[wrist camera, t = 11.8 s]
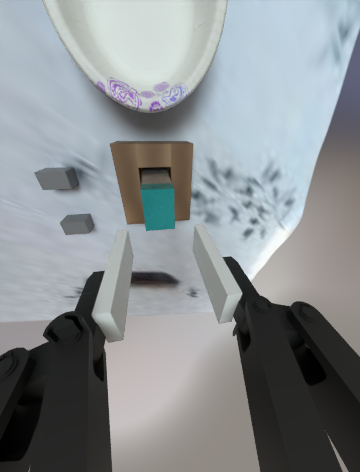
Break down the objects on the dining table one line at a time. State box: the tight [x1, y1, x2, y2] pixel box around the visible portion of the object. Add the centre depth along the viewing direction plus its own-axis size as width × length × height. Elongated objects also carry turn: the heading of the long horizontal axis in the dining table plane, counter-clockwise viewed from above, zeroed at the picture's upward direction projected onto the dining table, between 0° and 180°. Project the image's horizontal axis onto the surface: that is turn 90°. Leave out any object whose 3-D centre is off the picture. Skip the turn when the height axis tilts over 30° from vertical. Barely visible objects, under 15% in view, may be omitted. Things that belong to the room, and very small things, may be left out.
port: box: [110, 141, 193, 224], centre depth 26 cm, size 11×12×5 cm
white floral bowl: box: [42, 0, 228, 113], centre depth 15 cm, size 15×15×8 cm
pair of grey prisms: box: [34, 167, 94, 235], centre depth 26 cm, size 4×11×3 cm, turn 0°
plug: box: [141, 167, 175, 231], centre depth 22 cm, size 4×5×12 cm
